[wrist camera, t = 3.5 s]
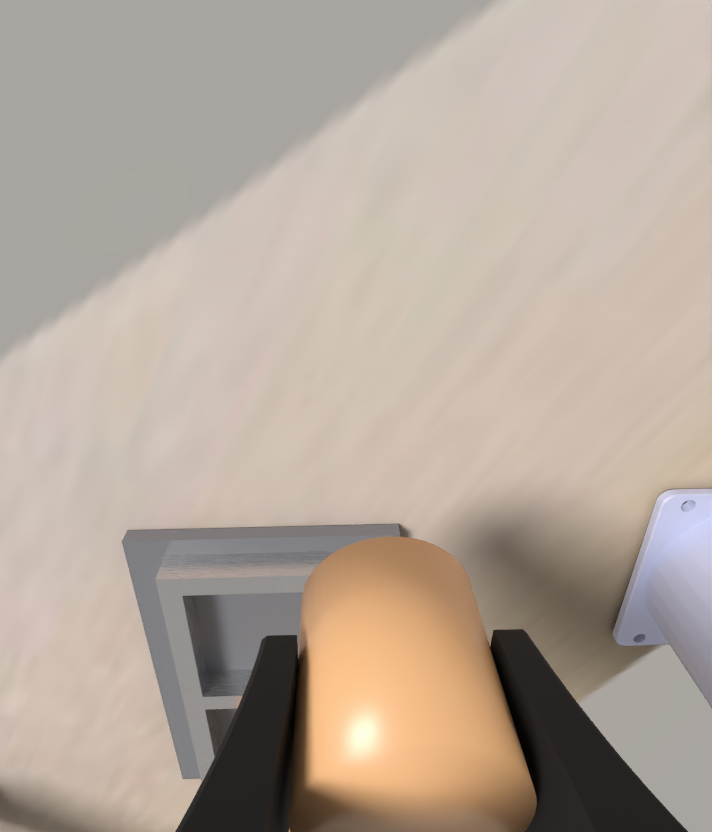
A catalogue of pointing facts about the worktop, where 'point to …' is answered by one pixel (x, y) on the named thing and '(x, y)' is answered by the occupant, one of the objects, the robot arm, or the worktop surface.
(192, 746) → the frame
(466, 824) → the peach rounded capsule
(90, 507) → the worktop surface
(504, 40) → the worktop surface
